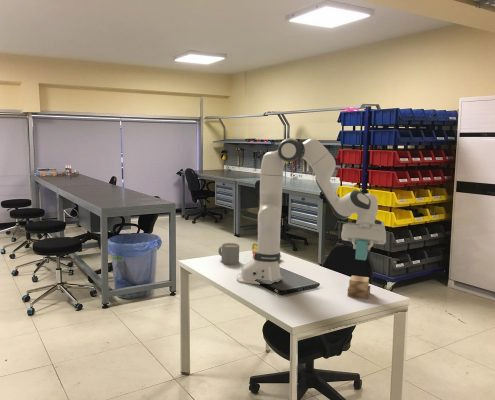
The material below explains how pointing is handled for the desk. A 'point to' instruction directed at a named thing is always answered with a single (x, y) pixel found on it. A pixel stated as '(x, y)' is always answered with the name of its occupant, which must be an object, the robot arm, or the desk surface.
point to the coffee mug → (229, 253)
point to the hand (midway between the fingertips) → (361, 249)
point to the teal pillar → (361, 250)
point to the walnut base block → (359, 293)
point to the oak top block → (359, 283)
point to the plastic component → (255, 247)
